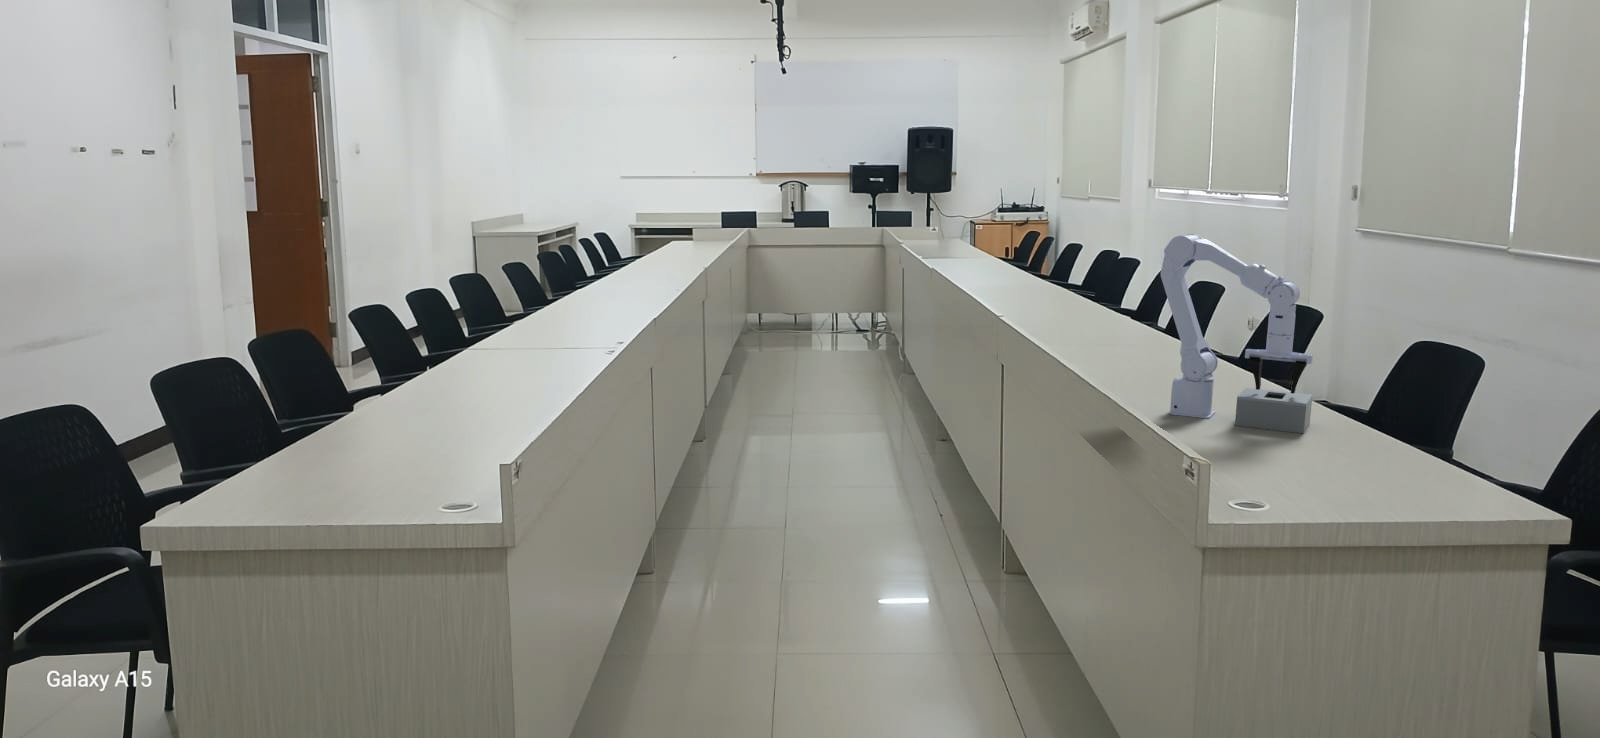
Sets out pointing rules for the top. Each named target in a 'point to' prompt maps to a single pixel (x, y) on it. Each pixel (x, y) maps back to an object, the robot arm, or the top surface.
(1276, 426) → the ballot box
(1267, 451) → the top surface
